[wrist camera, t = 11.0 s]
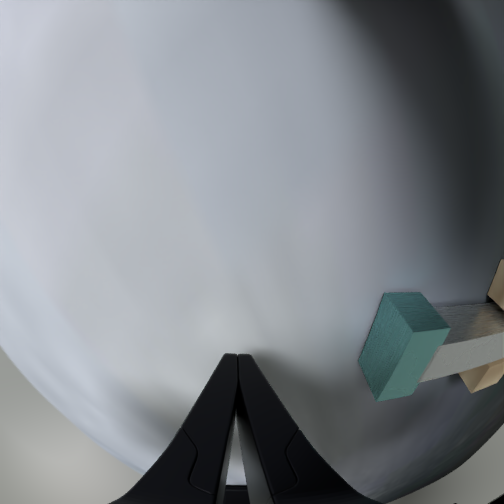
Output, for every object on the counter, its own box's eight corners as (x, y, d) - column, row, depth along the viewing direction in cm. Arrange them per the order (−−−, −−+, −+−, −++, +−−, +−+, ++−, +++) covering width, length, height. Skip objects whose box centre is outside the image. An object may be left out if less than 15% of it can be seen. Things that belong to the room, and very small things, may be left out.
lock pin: (495, 337, 12) (515, 360, 10) (358, 361, 11) (376, 401, 9) (519, 287, 11) (544, 309, 9) (384, 292, 10) (413, 332, 8)
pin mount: (477, 356, 13) (497, 382, 11) (451, 363, 13) (471, 393, 10) (523, 261, 10) (552, 283, 8) (500, 259, 10) (533, 285, 8)
